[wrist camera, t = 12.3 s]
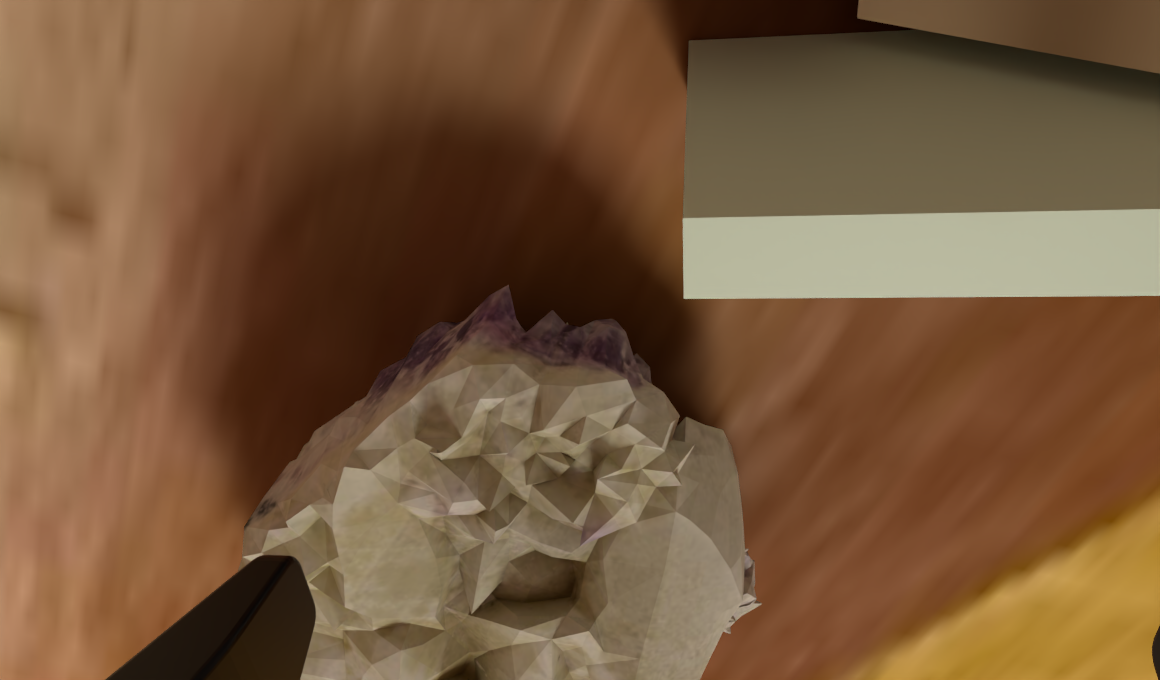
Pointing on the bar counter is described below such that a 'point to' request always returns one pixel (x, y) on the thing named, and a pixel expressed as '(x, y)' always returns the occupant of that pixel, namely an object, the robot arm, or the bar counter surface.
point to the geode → (513, 515)
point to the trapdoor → (1039, 25)
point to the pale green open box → (916, 170)
